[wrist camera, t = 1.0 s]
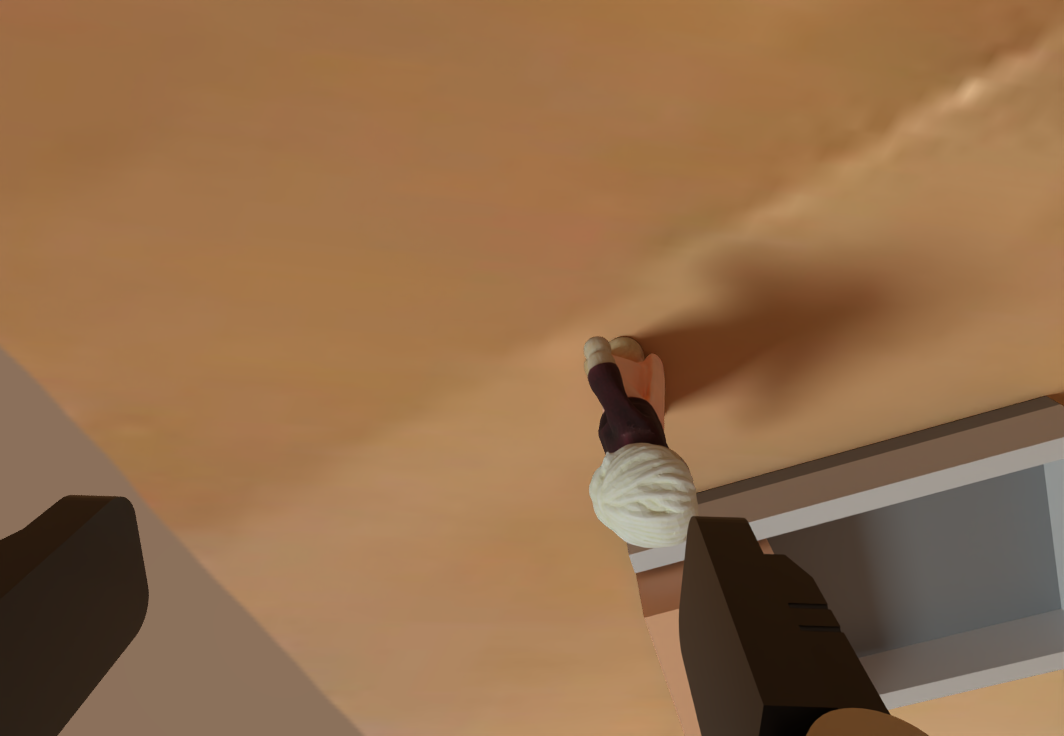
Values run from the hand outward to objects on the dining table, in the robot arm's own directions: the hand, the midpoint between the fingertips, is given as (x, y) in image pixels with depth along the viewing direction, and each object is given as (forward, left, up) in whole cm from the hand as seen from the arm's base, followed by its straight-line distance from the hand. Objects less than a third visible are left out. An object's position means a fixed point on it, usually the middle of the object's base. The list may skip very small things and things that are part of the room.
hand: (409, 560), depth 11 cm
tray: (-11, +20, -23) cm, 32 cm away
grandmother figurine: (-3, +7, -23) cm, 24 cm away
